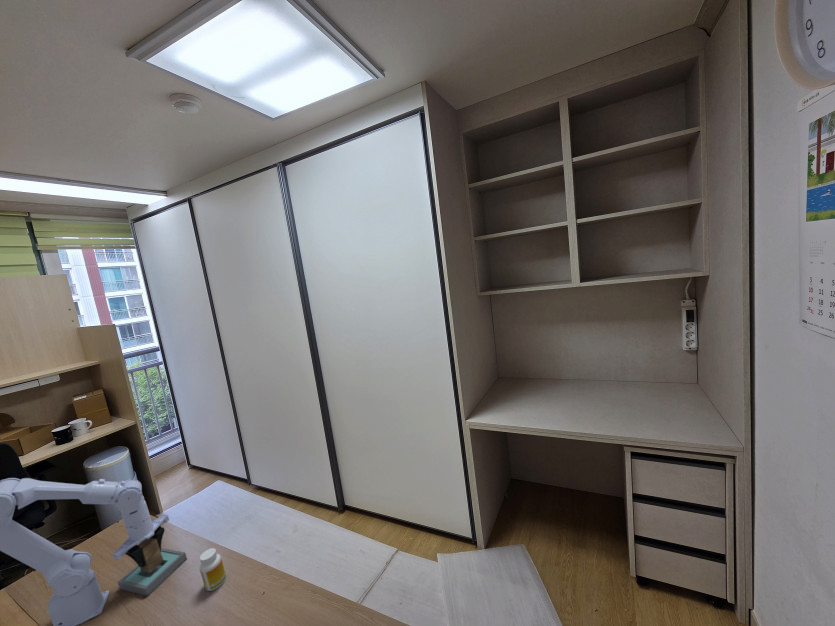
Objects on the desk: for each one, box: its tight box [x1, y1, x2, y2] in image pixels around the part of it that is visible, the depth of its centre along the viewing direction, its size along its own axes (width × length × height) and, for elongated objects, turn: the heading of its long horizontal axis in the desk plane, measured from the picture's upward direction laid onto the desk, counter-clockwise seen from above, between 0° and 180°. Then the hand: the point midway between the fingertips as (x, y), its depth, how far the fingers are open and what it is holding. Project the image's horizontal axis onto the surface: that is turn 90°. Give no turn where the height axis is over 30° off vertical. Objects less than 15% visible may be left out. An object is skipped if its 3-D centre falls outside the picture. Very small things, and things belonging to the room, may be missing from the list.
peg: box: [137, 538, 163, 573], centre depth 102 cm, size 4×4×8 cm
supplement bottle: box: [199, 547, 227, 592], centre depth 96 cm, size 5×5×10 cm
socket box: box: [117, 547, 188, 597], centre depth 103 cm, size 12×12×2 cm
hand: (150, 558), depth 102 cm, fingers closed on peg, 4 cm apart
